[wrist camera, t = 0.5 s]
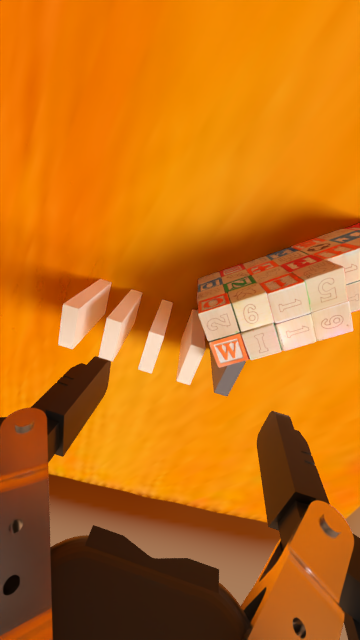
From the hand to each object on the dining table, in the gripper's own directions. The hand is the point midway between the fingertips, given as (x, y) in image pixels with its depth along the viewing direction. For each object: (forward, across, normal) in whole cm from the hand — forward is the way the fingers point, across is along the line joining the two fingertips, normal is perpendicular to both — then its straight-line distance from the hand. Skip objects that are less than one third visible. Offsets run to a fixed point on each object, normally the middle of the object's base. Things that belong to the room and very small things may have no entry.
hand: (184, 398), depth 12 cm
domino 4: (+22, +1, +7) cm, 23 cm away
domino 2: (+22, +10, +6) cm, 24 cm away
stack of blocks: (+24, -9, -3) cm, 26 cm away
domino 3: (+22, +5, +7) cm, 23 cm away
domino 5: (+23, -4, +7) cm, 24 cm away
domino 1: (+21, +14, +6) cm, 26 cm away
